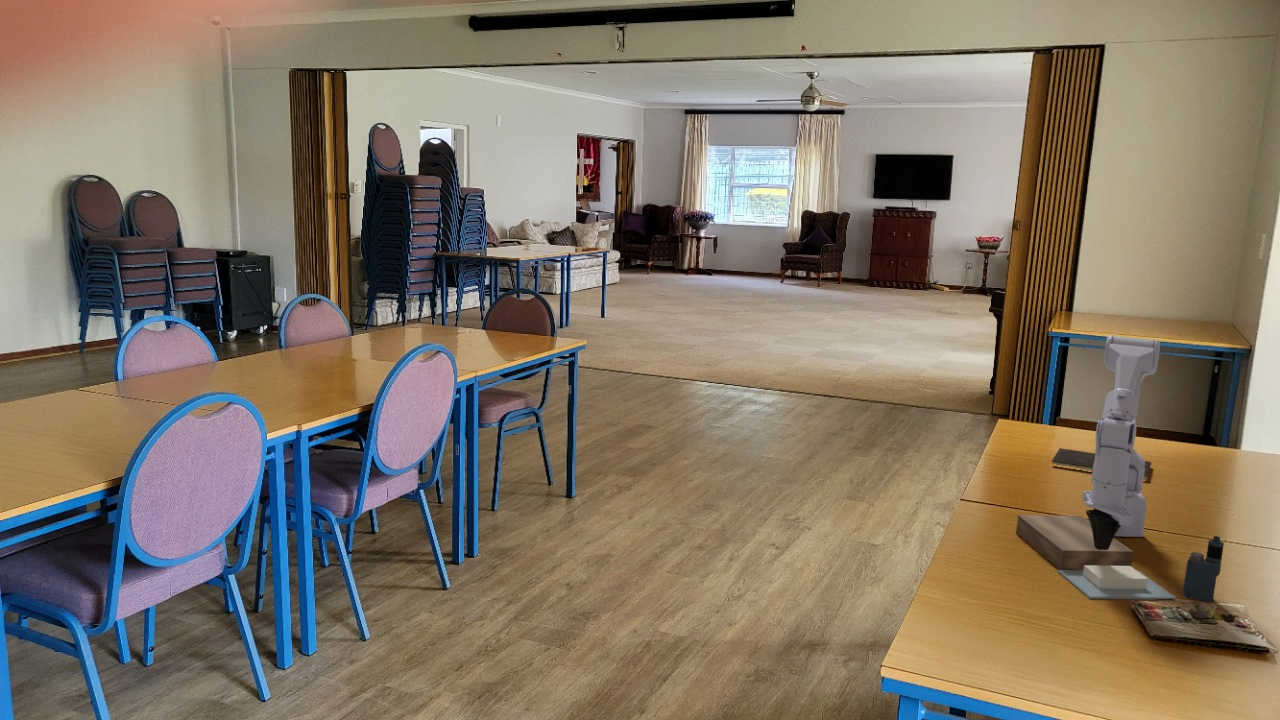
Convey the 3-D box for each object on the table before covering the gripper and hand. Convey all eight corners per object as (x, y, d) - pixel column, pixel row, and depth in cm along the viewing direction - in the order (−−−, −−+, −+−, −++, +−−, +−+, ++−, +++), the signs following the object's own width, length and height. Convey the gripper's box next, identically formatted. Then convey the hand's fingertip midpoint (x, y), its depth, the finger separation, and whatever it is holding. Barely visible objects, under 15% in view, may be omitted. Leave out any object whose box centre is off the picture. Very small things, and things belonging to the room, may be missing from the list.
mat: (1138, 573, 183) (1138, 571, 182) (1175, 599, 171) (1176, 597, 171) (1058, 572, 182) (1058, 570, 182) (1089, 598, 170) (1089, 596, 170)
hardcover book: (1146, 484, 242) (1147, 475, 242) (1050, 468, 254) (1051, 460, 253) (1150, 469, 256) (1151, 461, 255) (1059, 455, 267) (1059, 447, 267)
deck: (1079, 533, 203) (1081, 516, 202) (1130, 570, 183) (1133, 551, 183) (1016, 532, 202) (1018, 515, 202) (1060, 570, 183) (1062, 550, 182)
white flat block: (1147, 578, 174) (1146, 588, 174) (1130, 565, 180) (1128, 575, 180) (1100, 578, 173) (1099, 588, 174) (1084, 565, 179) (1082, 575, 180)
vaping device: (1215, 603, 170) (1225, 540, 167) (1182, 596, 172) (1191, 534, 170) (1215, 598, 172) (1225, 536, 170) (1182, 591, 174) (1191, 530, 172)
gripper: (1070, 469, 186) (1062, 534, 188) (1109, 492, 172) (1100, 563, 174) (1105, 469, 186) (1097, 535, 189) (1147, 493, 172) (1137, 563, 174)
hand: (1101, 548), depth 181 cm, fingers closed
